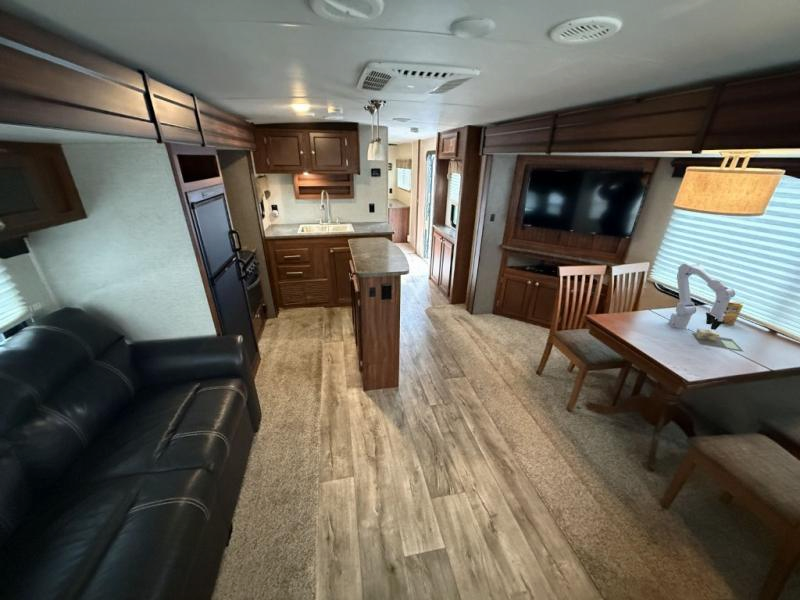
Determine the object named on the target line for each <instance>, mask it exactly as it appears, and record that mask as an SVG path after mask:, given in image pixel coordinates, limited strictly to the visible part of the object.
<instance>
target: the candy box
mask: <svg viewBox="0 0 800 600" xmlns="http://www.w3.org/2000/svg"><path fill="white" fill-rule="evenodd" d="M743 306H744V304H743V302H737V301H731V300H730V301H729V303H728V305H727V307H726V310H725V312H724V314H725V316H723V321H725V322H724V323H725V324H728V325H732V326H734V325H735V323H736V322H737V318H738V317H739V315H740V312H741V311H742V309H743ZM724 323H723V324H724Z"/></svg>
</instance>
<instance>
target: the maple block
mask: <svg viewBox="0 0 800 600" xmlns="http://www.w3.org/2000/svg"><path fill="white" fill-rule="evenodd" d="M695 333H696V334H695V335H696V336H697V337H698V338H701V339H707V340H713V341H717V339H718V337H720V334H719V333H718V331H717V330H712V329H710V330H709V329H705V328H697V329H696V331H695Z"/></svg>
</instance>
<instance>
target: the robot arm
mask: <svg viewBox="0 0 800 600" xmlns="http://www.w3.org/2000/svg"><path fill="white" fill-rule="evenodd" d="M677 269H678V272H677V275H676V280H677V281H676V282H677V287H678V288H677V289H678V295H679V302H678V303H677V304H676V308H675V312H673V313H671V315H670V318H669V321H668V324H669V326H670V327H672V328H678V329H683V330H689V327H688V324H689V323H690V320H691V318H692V316H693V315H694V314H696V312H697V307H696V306H695V303H694V302H693V301H692V298H691V291H690V289H691V288H690V282H689V277H690V276H692V275H697V276H698V277H699V278H701V279H702V280H703V281H705V282H706V283H707V287H708V288H710V290H712V291H713V292H714V293H715V297H716V298H715V300H714V303H713V305H712V307H711V308H709V310H708V312H705V314H706V315H705V316H706V322H705V324H706V325H711V326H710V330H712V331H717V329H718V328H719V327H720V326H721V325H723V324H724V322H725V321H723V316H725V314H724V312H725V310H726V307H727V305H728V303H729V301H731V299H732V298H734V297H735V295H736V292H735V290H734V289H733V288H729V287H728V286H727V285H724V284H723V283H722V281H721V280H720V279H714V278H713V277H712V276H711V275H710V274H709V273H708V272H707V271H706V270H705V269H704V267H703V266H702V265H701V264H700V263H698V262H693V263H682V264H681V265H679V266H678V267H677Z"/></svg>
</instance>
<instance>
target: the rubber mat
mask: <svg viewBox="0 0 800 600" xmlns="http://www.w3.org/2000/svg"><path fill="white" fill-rule="evenodd" d="M691 334H692V335H693V337H694V339H695V340H696V341H697V342H698V344H699V345H701V346H707V347H708V346H709V347H713V348H718V349H719V348H721V349H725V350H730V351H731V350H732V351H737V352H742V353H743V352H745V351H744V350H743V349H742V348H741V347H740V346H739V345H738V344H737V343H736V342H735V341H734V339H732V338H727V337H722V336H719V337H718V339H717V341H713V340H707V339H701V338H698V337H697V336H696V335H695V334H696V332H691Z"/></svg>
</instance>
